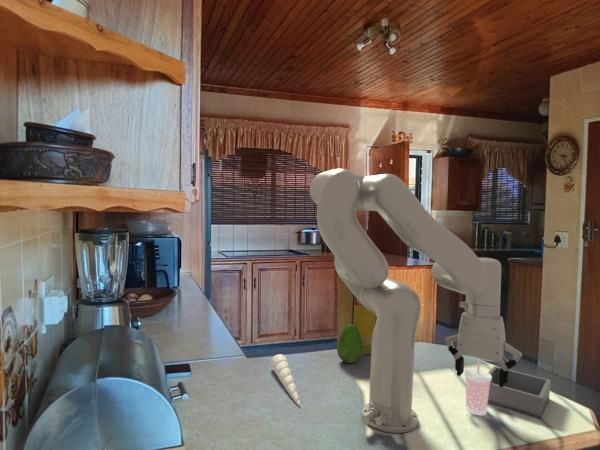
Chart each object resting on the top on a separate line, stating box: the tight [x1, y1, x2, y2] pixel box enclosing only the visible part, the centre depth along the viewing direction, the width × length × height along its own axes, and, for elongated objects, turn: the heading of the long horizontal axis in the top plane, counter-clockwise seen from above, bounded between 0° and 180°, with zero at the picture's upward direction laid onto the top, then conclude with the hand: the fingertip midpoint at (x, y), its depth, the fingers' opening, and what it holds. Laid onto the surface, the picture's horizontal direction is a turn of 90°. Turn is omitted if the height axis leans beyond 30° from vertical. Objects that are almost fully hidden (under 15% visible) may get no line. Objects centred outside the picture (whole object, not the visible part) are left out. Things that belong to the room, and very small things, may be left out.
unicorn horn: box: [270, 353, 301, 407], centre depth 109 cm, size 5×24×5 cm, turn 12°
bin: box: [487, 365, 551, 420], centre depth 106 cm, size 14×14×5 cm
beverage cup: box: [464, 358, 492, 416], centre depth 99 cm, size 6×6×14 cm
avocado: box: [336, 324, 363, 364], centre depth 127 cm, size 8×8×12 cm
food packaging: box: [336, 277, 377, 356], centre depth 139 cm, size 13×9×25 cm
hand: (480, 379), depth 99 cm, fingers open, 9 cm apart
